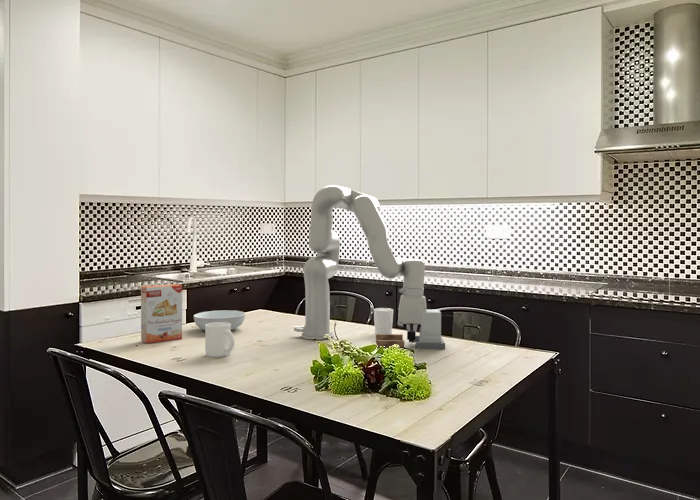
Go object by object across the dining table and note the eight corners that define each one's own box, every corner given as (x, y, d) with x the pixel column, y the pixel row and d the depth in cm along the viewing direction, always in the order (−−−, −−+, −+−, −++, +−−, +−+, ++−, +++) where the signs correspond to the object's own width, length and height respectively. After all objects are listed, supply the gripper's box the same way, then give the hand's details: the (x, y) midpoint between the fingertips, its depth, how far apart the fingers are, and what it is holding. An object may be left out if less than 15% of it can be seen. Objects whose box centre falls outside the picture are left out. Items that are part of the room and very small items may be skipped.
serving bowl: (222, 323, 238) (222, 308, 238) (255, 329, 226) (255, 313, 226) (182, 331, 221) (182, 314, 221) (216, 337, 209) (216, 320, 209)
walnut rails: (376, 347, 193) (376, 340, 193) (376, 340, 205) (376, 334, 205) (404, 348, 193) (404, 341, 193) (402, 340, 205) (402, 334, 205)
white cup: (393, 332, 222) (393, 308, 221) (392, 336, 214) (393, 311, 213) (374, 331, 222) (374, 307, 222) (373, 335, 215) (373, 310, 214)
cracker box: (146, 344, 197) (146, 287, 196) (140, 341, 201) (139, 285, 200) (183, 339, 206) (182, 284, 205) (176, 336, 210) (176, 283, 209)
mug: (243, 355, 180) (243, 325, 180) (223, 360, 173) (223, 329, 173) (220, 350, 187) (219, 321, 187) (200, 355, 181) (200, 324, 180)
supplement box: (438, 342, 202) (439, 309, 202) (441, 346, 195) (441, 312, 194) (419, 342, 203) (419, 308, 202) (420, 346, 195) (421, 312, 195)
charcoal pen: (415, 348, 192) (415, 342, 192) (412, 340, 205) (412, 335, 205) (445, 348, 192) (445, 343, 192) (440, 341, 205) (440, 335, 205)
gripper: (393, 293, 194) (391, 343, 195) (434, 294, 194) (432, 345, 195) (392, 290, 202) (390, 338, 203) (432, 292, 201) (430, 340, 202)
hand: (411, 341), depth 199 cm, fingers closed
